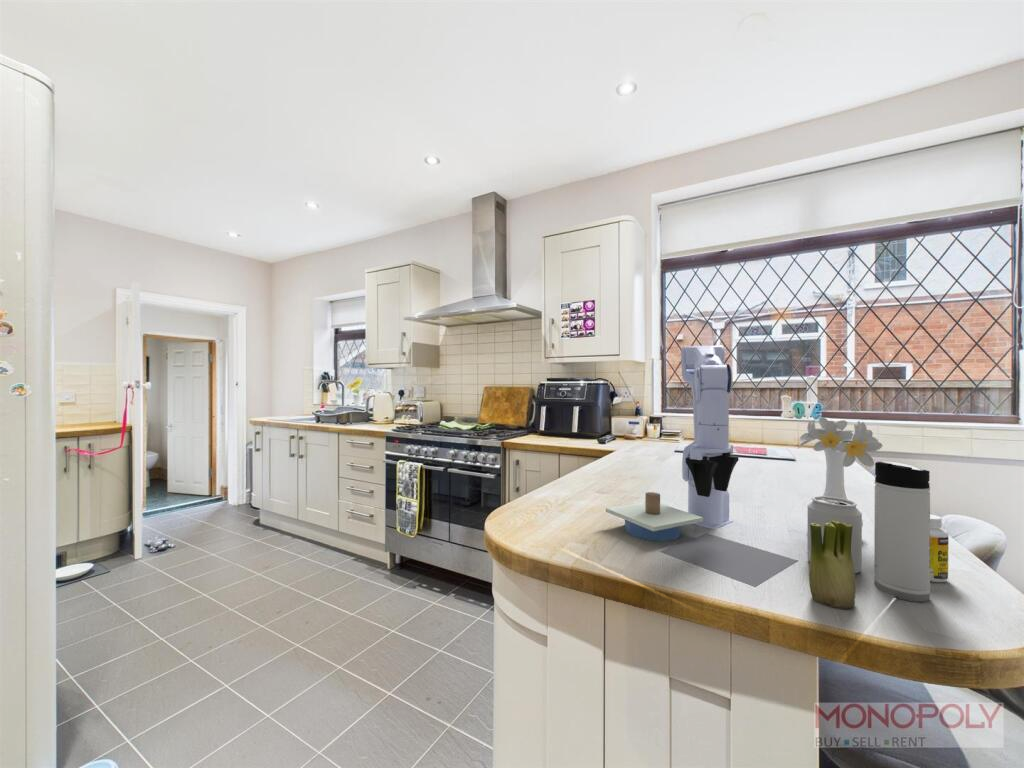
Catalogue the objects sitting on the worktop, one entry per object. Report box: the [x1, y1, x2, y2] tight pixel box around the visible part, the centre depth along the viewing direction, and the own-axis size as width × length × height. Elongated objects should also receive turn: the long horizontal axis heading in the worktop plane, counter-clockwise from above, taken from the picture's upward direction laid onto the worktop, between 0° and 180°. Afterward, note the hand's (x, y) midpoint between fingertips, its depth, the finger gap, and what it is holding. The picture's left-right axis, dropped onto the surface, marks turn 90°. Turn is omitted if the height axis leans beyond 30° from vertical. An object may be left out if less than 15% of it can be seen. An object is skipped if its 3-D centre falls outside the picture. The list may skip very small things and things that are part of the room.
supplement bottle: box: [930, 513, 949, 583], centre depth 70 cm, size 6×6×10 cm
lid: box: [605, 491, 703, 531], centre depth 89 cm, size 14×14×5 cm
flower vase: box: [797, 416, 883, 528], centre depth 89 cm, size 13×18×25 cm
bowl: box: [624, 519, 681, 542], centre depth 89 cm, size 11×11×4 cm
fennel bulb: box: [808, 521, 857, 610], centre depth 60 cm, size 6×5×12 cm
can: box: [806, 495, 863, 574], centre depth 73 cm, size 8×8×12 cm
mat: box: [659, 533, 799, 588], centre depth 76 cm, size 17×17×1 cm
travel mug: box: [873, 461, 931, 603], centre depth 64 cm, size 6×7×20 cm
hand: (712, 493), depth 82 cm, fingers open, 7 cm apart
